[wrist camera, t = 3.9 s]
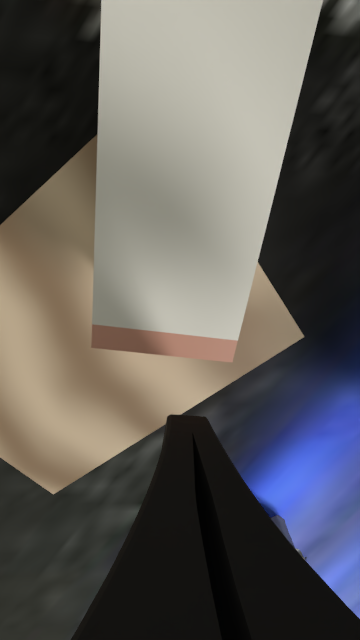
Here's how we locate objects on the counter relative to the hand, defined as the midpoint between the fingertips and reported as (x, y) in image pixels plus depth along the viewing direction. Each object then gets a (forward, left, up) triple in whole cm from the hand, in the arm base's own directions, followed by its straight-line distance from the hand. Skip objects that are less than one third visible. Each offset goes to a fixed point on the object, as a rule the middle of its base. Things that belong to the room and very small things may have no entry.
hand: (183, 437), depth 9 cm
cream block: (-1, -3, -3) cm, 5 cm away
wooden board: (+4, -3, -7) cm, 9 cm away
